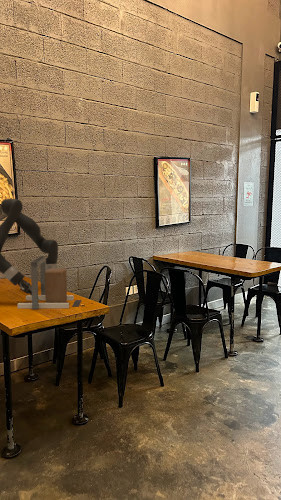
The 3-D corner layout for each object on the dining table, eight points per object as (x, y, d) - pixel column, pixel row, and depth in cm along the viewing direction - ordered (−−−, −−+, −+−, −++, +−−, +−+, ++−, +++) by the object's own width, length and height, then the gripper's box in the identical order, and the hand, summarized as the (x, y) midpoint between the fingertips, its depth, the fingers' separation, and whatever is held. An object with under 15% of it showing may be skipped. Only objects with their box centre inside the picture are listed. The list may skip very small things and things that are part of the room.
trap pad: (75, 300, 231) (75, 300, 231) (81, 300, 231) (81, 300, 231) (72, 306, 217) (72, 306, 217) (78, 306, 217) (78, 306, 217)
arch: (41, 298, 235) (40, 256, 232) (46, 298, 236) (45, 256, 232) (32, 309, 212) (30, 262, 209) (37, 309, 212) (36, 262, 209)
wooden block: (62, 306, 218) (61, 271, 216) (45, 305, 219) (44, 271, 217) (67, 301, 228) (66, 268, 226) (51, 301, 229) (50, 268, 227)
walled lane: (27, 299, 233) (26, 295, 233) (73, 299, 234) (73, 295, 234) (17, 308, 213) (17, 304, 213) (68, 308, 214) (68, 303, 214)
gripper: (15, 273, 214) (38, 294, 216) (21, 269, 227) (43, 289, 229) (5, 282, 215) (28, 303, 216) (12, 278, 228) (34, 298, 230)
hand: (36, 296), depth 223 cm, fingers closed
